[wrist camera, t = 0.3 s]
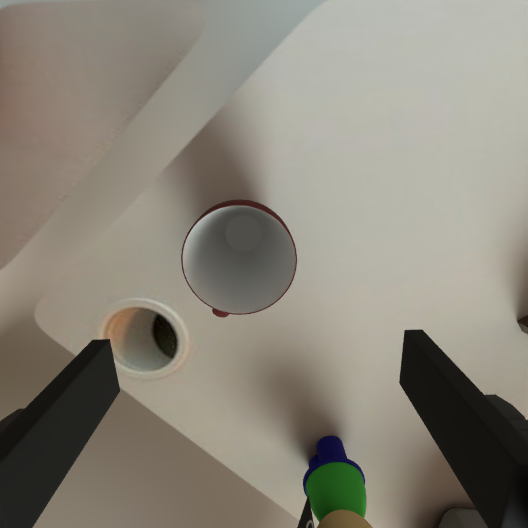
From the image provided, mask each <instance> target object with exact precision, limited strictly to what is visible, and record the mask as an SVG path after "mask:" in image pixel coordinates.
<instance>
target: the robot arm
mask: <svg viewBox="0 0 528 528" xmlns="http://www.w3.org/2000/svg"><path fill="white" fill-rule="evenodd" d="M399 383H400V385H401V387H402V388H403V390H404V391H405V393H406V395H407V396H408V398H409V400H410V401H411V403H412V405H413V406H414V408H415V409H416V411H417V413H418V414H419V416H420V418H421V419H422V421H423V423H424V424H425V426H426V427H427V429H428V431H429V432H430V434H431V436H432V437H433V439H434V441H435V442H436V444H437V445H438V447H439V449H440V450H441V452H442V454H443V455H444V457H445V458H446V460H447V462H448V463H449V465H450V467H451V468H452V470H453V472H454V473H455V475H456V476H457V478H458V480H459V481H460V483H461V485H462V486H463V488H464V490H465V491H466V493H467V494H468V496H469V498H470V499H471V501H472V503H473V504H474V506H475V508H476V509H477V511H478V512H479V514H480V516H481V517H482V519H483V521H484V522H485V524H486V526H487V527H488V528H528V420H526V419H525V417H524V416H523V415H522V414H521V413H520V412H519V411H518V410H517V409H516V408H515V407H514V406H513V405H511V404H510V403H508V402H507V401H505V400H503V399H502V398H500V397H498V396H497V395H484V394H483V393H482V392H481V391H480V390H479V389H478V388H477V387H476V386H475V385H474V384H473V383H472V382H471V381H470V379H469V378H468V377H467V376H466V375H465V374H464V373H463V372H462V371H461V370H460V369H459V368H458V367H457V366H456V365H455V364H454V363H453V362H452V361H451V359H450V358H449V357H448V356H447V355H446V354H445V353H444V352H443V351H442V350H441V349H440V348H439V347H438V346H437V345H436V344H435V343H434V342H433V340H432V339H431V338H430V337H429V336H428V335H427V334H426V333H425V332H424V331H423V330H405V332H404V342H403V352H402V361H401V371H400V381H399ZM119 392H120V388H119V383H118V378H117V373H116V368H115V363H114V358H113V353H112V348H111V343H110V339H103V340H92V341H91V342H90V343H89V344H88V345H87V346H86V347H85V348H84V349H83V350H82V351H81V352H80V353H79V354H78V355H77V356H76V357H75V358H74V359H73V360H72V361H71V362H70V364H68V365H67V366H66V367H65V368H64V370H62V372H61V373H60V374H59V375H58V376H57V377H56V378H55V379H54V380H53V381H52V382H51V383H50V384H49V385H48V386H47V387H46V388H45V389H44V390H43V391H42V392H41V393H40V394H39V395H38V396H37V397H36V398H35V399H34V400H33V401H32V402H31V403H30V404H29V405H28V406H27V407H26V408H25V409H18V410H16V411H15V412H13V413H12V414H10V415H9V416H7V417H6V418H4V419H3V420H1V421H0V528H32V527H33V526H34V524H35V523H36V521H37V519H38V518H39V516H40V515H41V513H42V512H43V510H44V509H45V507H46V506H47V504H48V502H49V501H50V499H51V497H52V496H53V495H54V493H55V491H56V490H57V488H58V487H59V485H60V484H61V482H62V481H63V479H64V478H65V476H66V474H67V473H68V471H69V470H70V468H71V467H72V465H73V464H74V462H75V460H76V459H77V457H78V456H79V454H80V453H81V451H82V450H83V448H84V446H85V445H86V443H87V442H88V440H89V438H90V437H91V436H92V434H93V432H94V431H95V429H96V428H97V426H98V425H99V423H100V421H101V420H102V418H103V417H104V415H105V414H106V412H107V411H108V409H109V407H110V406H111V404H112V403H113V401H114V400H115V398H116V397H117V395H118V393H119Z"/></svg>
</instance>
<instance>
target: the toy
mask: <svg viewBox="0 0 528 528" xmlns="http://www.w3.org/2000/svg"><path fill="white" fill-rule="evenodd" d="M316 449H317V453H318V455H315V456H314V457H312V458H311V460H310V461H309V469H308V470H307V472H306V474H305V476H304V479H303V487H304V492H305V494H306V496H307V500H306V503H305V506H304V509H303V512H302V515H301V518H300V521H299V525H298V527H297V528H314V523H313V518H312V512H311V508H312V511H313V513H314V515H315V516H316V518H317V519H318V521H319V522H320V523H319V525H318V527H317V528H372V527H371V525H370V524H369V523H368V522H367V521H366V520H365V519H364V516H365V512H366V490H365V478H364V474H363V472H362V470H361V468H360V467H359V466H358V465H357V464H356V463H355V462H353V461H351V460H349V459H347V456H346V453H345V450H344V447H343V444H342V442H341V440H340V439H339V438H338V437H335V436H326V437H323V438H321V439H320V440H319V441H318V443H317V446H316Z"/></svg>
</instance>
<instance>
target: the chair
mask: <svg viewBox="0 0 528 528" xmlns="http://www.w3.org/2000/svg"><path fill="white" fill-rule="evenodd" d="M518 324H519V326H520V328H521V329H522V331H523V332H525V333H526V334H528V316H526V317H524V318H523V319H521V320H519V321H518Z"/></svg>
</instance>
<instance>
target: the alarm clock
mask: <svg viewBox="0 0 528 528" xmlns="http://www.w3.org/2000/svg"><path fill="white" fill-rule="evenodd" d="M438 528H488V527H487V526H486V524H485V522H484V521H483V519H482V517H481V516H480V514H479V512H478V511H477V509H466V508H454V509H450V510H448V511H447V512H446V513H445V514H444V515H443V517H442V520H441V522H440V524H439V527H438Z"/></svg>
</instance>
